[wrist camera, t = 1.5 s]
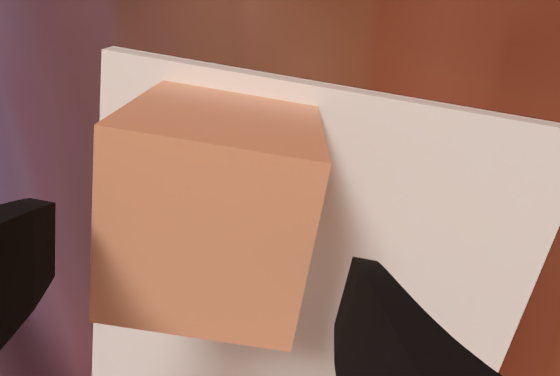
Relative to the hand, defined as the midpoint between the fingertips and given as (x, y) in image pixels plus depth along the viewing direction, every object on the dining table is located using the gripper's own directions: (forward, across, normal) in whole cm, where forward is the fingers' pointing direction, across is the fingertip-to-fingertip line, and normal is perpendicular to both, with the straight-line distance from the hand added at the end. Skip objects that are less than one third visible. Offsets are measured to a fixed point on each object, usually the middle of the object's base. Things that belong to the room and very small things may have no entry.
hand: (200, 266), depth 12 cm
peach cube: (+7, 0, 0) cm, 7 cm away
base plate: (+8, -4, +5) cm, 11 cm away
